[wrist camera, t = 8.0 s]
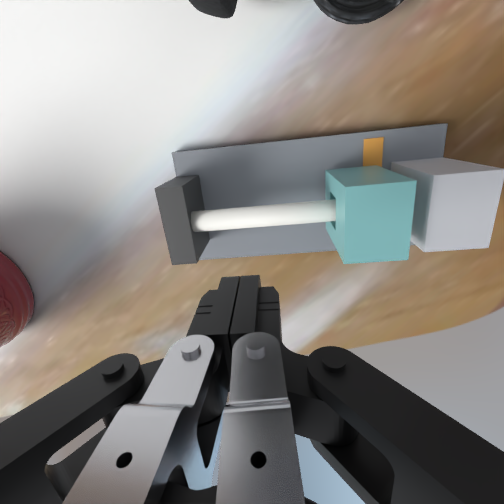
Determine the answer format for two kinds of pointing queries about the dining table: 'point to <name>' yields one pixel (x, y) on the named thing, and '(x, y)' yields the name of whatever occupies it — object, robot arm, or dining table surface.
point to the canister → (13, 300)
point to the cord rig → (318, 194)
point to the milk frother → (331, 3)
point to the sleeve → (370, 213)
